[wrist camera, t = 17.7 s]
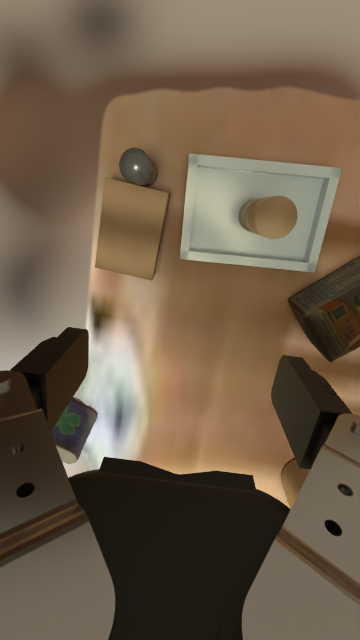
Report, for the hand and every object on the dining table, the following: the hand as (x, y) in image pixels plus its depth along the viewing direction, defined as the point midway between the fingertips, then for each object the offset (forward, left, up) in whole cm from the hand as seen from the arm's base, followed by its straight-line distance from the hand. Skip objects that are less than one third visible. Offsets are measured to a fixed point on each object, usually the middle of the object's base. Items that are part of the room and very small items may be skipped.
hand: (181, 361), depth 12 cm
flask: (-24, +16, -27) cm, 40 cm away
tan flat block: (+3, +7, -27) cm, 28 cm away
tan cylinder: (+6, -7, -26) cm, 27 cm away
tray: (+6, -7, -27) cm, 28 cm away
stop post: (+9, +6, -27) cm, 29 cm away
